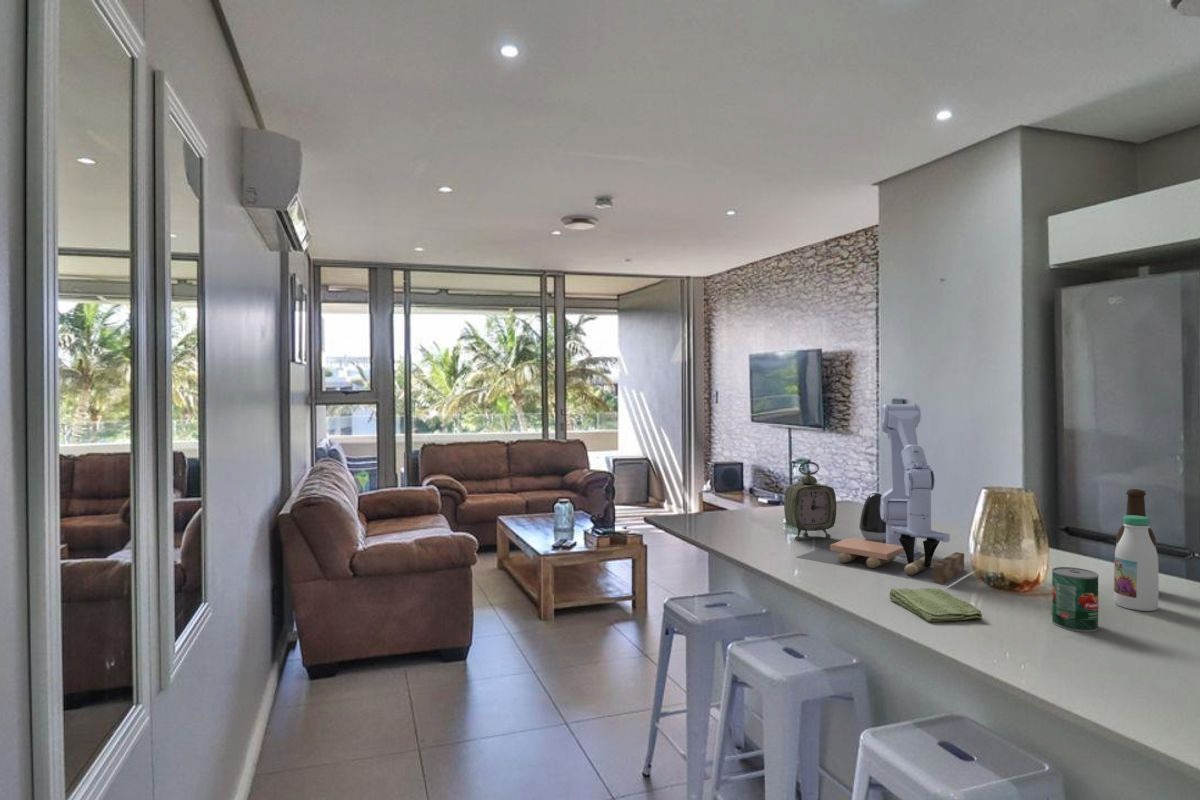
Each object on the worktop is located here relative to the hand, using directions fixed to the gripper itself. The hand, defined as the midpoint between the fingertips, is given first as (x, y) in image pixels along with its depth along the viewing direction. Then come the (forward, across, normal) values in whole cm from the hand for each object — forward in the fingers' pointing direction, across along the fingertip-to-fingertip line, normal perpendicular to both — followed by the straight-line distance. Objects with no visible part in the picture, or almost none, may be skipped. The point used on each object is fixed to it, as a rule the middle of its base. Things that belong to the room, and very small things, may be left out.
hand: (919, 565), depth 181 cm
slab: (-2, -14, 0) cm, 14 cm away
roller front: (+2, -10, 0) cm, 10 cm away
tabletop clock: (+2, -41, +17) cm, 44 cm away
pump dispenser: (+2, -24, +29) cm, 38 cm away
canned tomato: (+2, +38, -19) cm, 43 cm away
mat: (+2, -11, 0) cm, 11 cm away
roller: (+2, 0, 0) cm, 2 cm away
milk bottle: (+2, +45, +4) cm, 45 cm away
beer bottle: (+2, +43, +19) cm, 47 cm away
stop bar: (+2, +8, 0) cm, 8 cm away
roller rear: (+2, -18, 0) cm, 18 cm away
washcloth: (+3, +14, -28) cm, 31 cm away
